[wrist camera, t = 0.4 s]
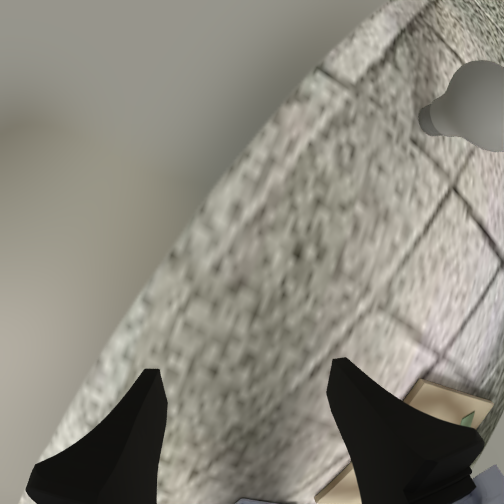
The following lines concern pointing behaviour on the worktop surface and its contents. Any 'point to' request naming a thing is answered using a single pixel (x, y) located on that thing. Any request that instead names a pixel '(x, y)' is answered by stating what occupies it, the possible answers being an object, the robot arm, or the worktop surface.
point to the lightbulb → (470, 107)
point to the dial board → (430, 402)
